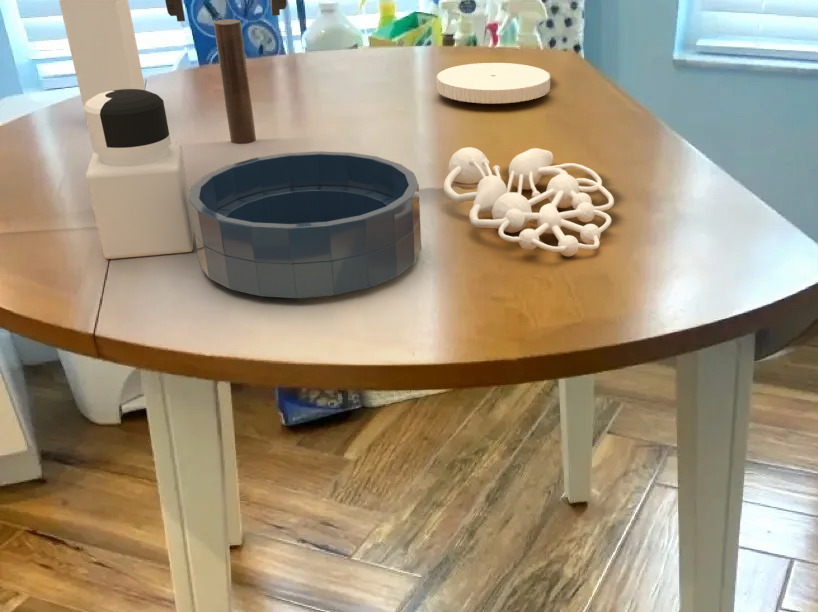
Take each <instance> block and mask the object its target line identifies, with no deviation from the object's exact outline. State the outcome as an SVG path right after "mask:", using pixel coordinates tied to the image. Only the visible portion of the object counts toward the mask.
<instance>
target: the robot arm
mask: <svg viewBox="0 0 818 612" xmlns="http://www.w3.org/2000/svg"><path fill="white" fill-rule="evenodd" d="M164 2H165V6H166V11H167V14H168V15H169V16H170V17H176V22H177V23H178V22H186V17H185V11H184V4H183V0H165V1H164ZM269 5H270V12H271V16H272V17H275V16H280V15H281V12H280V11H281V10H285V9H286V8H287V6H288V3H287V0H269Z"/></svg>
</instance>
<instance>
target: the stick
mask: <svg viewBox="0 0 818 612" xmlns="http://www.w3.org/2000/svg"><path fill="white" fill-rule="evenodd" d="M213 29H214V34H215V42H216V49H217V56H218V63H219V69H220V76H221V83H222V90H223V97H224V105H225V111H226V118H227V125H228V131H229V138H230V139H229V140H230V142H231V143H232V144H237V145H246V144H251V143H254V142H256V141H257V136H256V135H257V134H256V128H255V121H254V113H253V105H252V99H251V98H252V96H251V90H250V89H251V88H250V82H249V75H248V65H247V59H246V58H247V57H246V51H245V44H244V43H245V42H244V36H243V29H242V22H241V20H239V19H233V18H229V19H228V18H226V19H218V20H215V21H214V22H213Z"/></svg>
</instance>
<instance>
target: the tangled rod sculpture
mask: <svg viewBox="0 0 818 612" xmlns="http://www.w3.org/2000/svg"><path fill="white" fill-rule="evenodd" d="M553 163H554V155H553V153H552V152H551V151H550V150H547V149H542V148H537V147H534V148H530V149H527V150H526V151H524V152H521V153H519V154H517V155H516V156H515V157H513V158H512V160H511V161H510V163H509V166H508V177H509V178H508V181H507V185H506V183H505V182H504V180H503V179H502V176H501V174H500V172H501V167H500V165H498V164H496V165H494V166H493V167H492V170H491V168H490V160H489V159H488V158H487V156H486V155H485V154H484V153H483V151H481V150H480V149H479V148H475V147H473V146H468V147H461V148H460V149H458V150H456V152H454V153H453V154H452V156H451V158H450V160H449V162H448V175H447V176H446V177H445V179H444V181H443V191H444V193H445V195H446V196H447V197H448V198H449V199H450V200H452V201H454V202H455V203H460V204H461V203H465V202H471V201H473V203H472V207H471V209H470V210H469V216H468V217H469V222H470V224H471V226H472V227H473V228H477V229H498V232H497V233H498V235H499V238H500V239H502V240H503V241H505V242H510V243H518V244H519V246H520V247H521V249H523V250H526V251H531V250H535V249H536V248H540V249H543V250H545V251H547V252H552V253H560V254H561V255H562V256H564V257H569V258H570V257H572V256H575V255H576V254H577V253H578V251H579V249H580V250H585V251H592V250H593V251H594V250H597V249H598V248H599V247H600V243H601V242H600V238H601V236H602V235H601V233H603V232H604V231H605V230H607V229H608V228H609V227H610V225H611V224H612V218H611V215H609V214H608V213H606V212H605V211H608V210H610V209H611V208H613V206H614V204H615V198H614V197H613V195H612V193H611V192H610V191H609V190H607V188H605V187H604V186H603V180H602V178H601V176H599V174H598V173H597V172H596V171H594V170H593V169H591V168H589V167H588V166H585V165H583V164H578V163H574V162H572V163H571V162H567V163H562V164H556V165H552V164H553ZM565 169H574V170H578V171H581V172H584V173H586V174H588V175H589V176H591V177H592V178H593V179H594V180H592V179H589V178H585V177H578V178H575V177H573V176H572V175H571V174H569V173H568V172H567V170H565ZM492 171H493V172H494V173H495V175H494V174H493V172H492ZM543 176H554V177H552V178H551V179H550V180H549V182H548V184H547V187H546V191H544V192H542V193H541V192H540V191H539V190H537V188H536V185H537V184H538V183H539V181H540V180H541V178H542V177H543ZM453 182H455V183H458V184H464V185H457V187H459V188H460V189H463V190H467V191H469V190H470V191H471V190H476V191H471V192H465V193H461V194H460V193H457V192H456V191H455V190H454V189H453V188H452V185H453ZM580 184H582V185H580ZM583 184H584V185H588V186H583ZM512 185H513V186H514V187H515V188H516V189H517V192H514V191H513V192H512V191H511V189H512ZM523 190H527V191H528V190H531V192H532V193H531V198H530V199H528V198H527V197H526V196H524V195H522V192H523ZM596 191H599V192H601V194H603V196H604V197H606V198H607V201H608V203H606V204H602V205H597V206H596V205H594V204H593V203H592V198H591V196H590V195H589V194H588V193H594V192H596ZM547 199H548V201H549V203H546V204H544V205H542V206H541V207H540V210H539V212H533V211H532V206H534V205H537V204H538V203H540V202H542V201H544V200H547ZM571 206H572V210H566V211H561V212H559V210H558V208H559V209H567V208H570V207H571ZM488 213H491V215H492V219H489V218H488V219H487V218H481V219H479V216H478V215H479V214H480V215H482V214H488ZM595 216H598V217H601V218H602V219H604V220H605V222H604V224H602V225H601V226H600V227H599V226H598V225H596V224H594V223H589V222H591V221H593V219H595ZM573 218H577V220H578V221H579V222H582V223H586V224H585V225H580V224H578V223H575V222H572V221H570V220H567V219H573ZM531 220H535V221H536V223H537V228H535V229H533V228H526V227H527V226H528V224H529V223H530V221H531ZM562 227H563V228H565V229H568V230H571V231H574V232H577V233H579V237H580V240H581V241H582V242H583V243H581V242H579V241H578V239H577V238H576V237H575V236H574V235H570V234H567V235H565V234H564V232H563V230H562V229H561V228H562ZM517 232H519V235H518V236H510V235H507V234H505V233H508V234H509V233H510V234H514V233H517ZM544 233H545V234H553V236H555V238H556V239H557V241H558V243H557V246H553V245H549V244H546V243H544V242H542V241H541V240H540V236H541V235H542V234H544Z"/></svg>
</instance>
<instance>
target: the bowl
mask: <svg viewBox="0 0 818 612" xmlns="http://www.w3.org/2000/svg"><path fill="white" fill-rule="evenodd" d="M189 193H190V195H189V206H190V211H191V217H192V223H193V228H194V239H195V240H194V241H195V245H196V250H197V255H198V256H197V257H198V261H199V267H200V268H201V269H202V271H203V272H204V273H205V274H206V276H207V277H208V279H209V280H211V281H213V282H215V283H217V284H219V285H221V286H222V287H225V288H227V289H229V290H232V291H237V292H241V293H245V294H249V295H253V296H258V297H268V298H269V297H270V298H286V299H309V298H311V299H313V298H322V297H323V298H324V297H332V296H336V295H342V294H343V295H344V294H348V293H352V292H356V291H359V290H364V289H369V288H372V287H375V286H377V285H380V284H383V283H384V282H385V283H386V282H388V281H390V280H392V279H395V278H397V277H398V276H400V275H401V274H402V273H404V272H405V271H406V270H408V269H409V268H411V267H412V266H413V265H414V264H415V263H416V261H417V259H418V257H419V255H420V252H421V251H422V234H421V233H422V232H421V210H420V209H421V208H420V207H421V206H420V205H421V204H420V185H419V181H418V179H417V177H416V174H415V172H413V171H412V170H410V169H408V168H407V167H406V166H404V165H403V164H401V163H398V162H395V161H392V160H388V159H385V158H382V157H379V156H375V155H369V154H363V153H357V152H344V151H343V152H341V151H317V150H316V151H303V152H286V153H285V152H284V153H277V154H272V155H271V154H270V155H266V156H265V155H264V156H259V157H253V158H249V159H246V160H243V161H239V162H235V163H232V164H228V165H225V166H223V167H220V168H218V169H217V170H215V171H212V172H210V173H207V174H205V175H204V176H201V178H200V179H199V180H197V181H196V182H195V183H194V184H193V185H192V186H190V189H189Z"/></svg>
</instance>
